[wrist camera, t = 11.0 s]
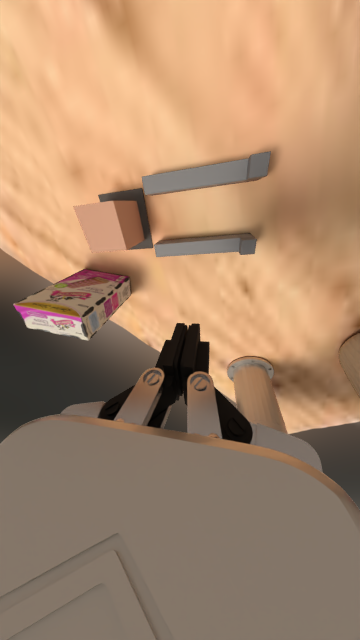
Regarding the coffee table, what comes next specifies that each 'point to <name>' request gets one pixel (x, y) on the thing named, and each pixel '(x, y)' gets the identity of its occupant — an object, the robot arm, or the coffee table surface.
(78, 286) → the candy bar box
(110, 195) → the mat
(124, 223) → the block
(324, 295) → the coffee table surface
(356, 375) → the canister
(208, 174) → the grey u-shaped bracket
